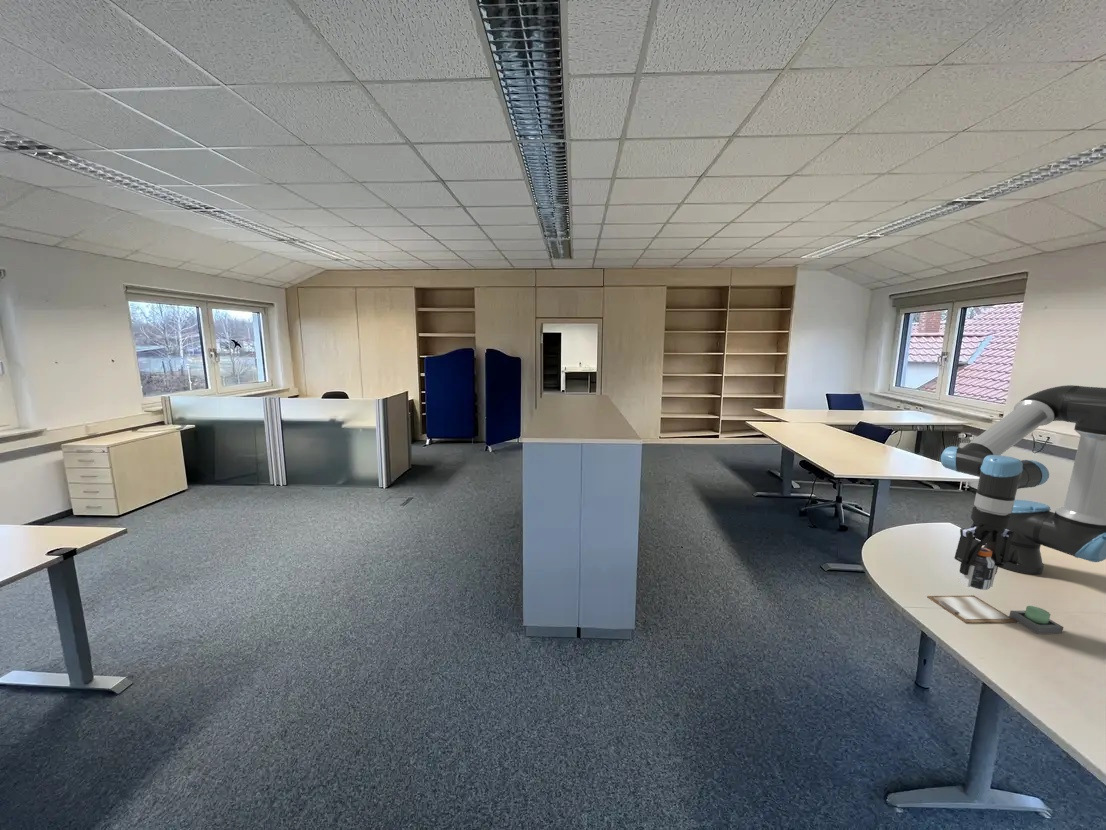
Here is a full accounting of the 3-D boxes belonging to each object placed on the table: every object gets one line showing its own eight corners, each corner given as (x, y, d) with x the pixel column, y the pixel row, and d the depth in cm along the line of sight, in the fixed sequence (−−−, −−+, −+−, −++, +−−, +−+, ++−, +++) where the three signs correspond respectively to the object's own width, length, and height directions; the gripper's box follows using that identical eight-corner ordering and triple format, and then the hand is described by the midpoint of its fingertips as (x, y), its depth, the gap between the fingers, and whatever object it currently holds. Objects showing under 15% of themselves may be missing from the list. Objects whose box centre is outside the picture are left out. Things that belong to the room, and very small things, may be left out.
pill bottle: (995, 591, 119) (1003, 555, 116) (970, 589, 120) (978, 553, 118) (978, 580, 124) (986, 545, 122) (955, 577, 126) (962, 543, 123)
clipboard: (973, 596, 130) (974, 593, 130) (1016, 622, 118) (1017, 619, 118) (926, 597, 129) (927, 594, 129) (965, 623, 117) (966, 620, 117)
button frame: (1032, 616, 121) (1033, 610, 120) (1061, 633, 114) (1063, 627, 113) (1008, 616, 120) (1010, 610, 120) (1037, 633, 114) (1038, 627, 113)
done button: (1034, 614, 119) (1036, 605, 118) (1052, 625, 115) (1055, 615, 114) (1019, 615, 119) (1021, 605, 118) (1037, 625, 115) (1040, 616, 114)
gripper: (1009, 504, 122) (992, 576, 126) (946, 504, 121) (932, 576, 125) (1039, 515, 114) (1020, 591, 119) (972, 515, 114) (956, 591, 118)
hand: (975, 583), depth 122 cm, fingers closed on pill bottle, 6 cm apart
